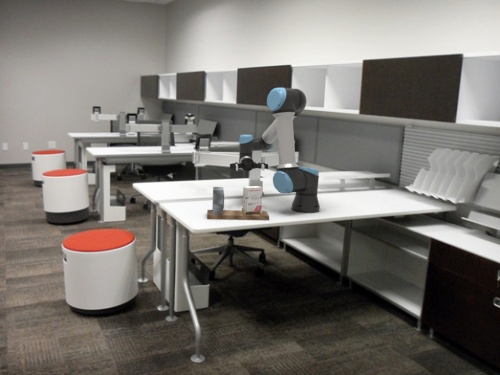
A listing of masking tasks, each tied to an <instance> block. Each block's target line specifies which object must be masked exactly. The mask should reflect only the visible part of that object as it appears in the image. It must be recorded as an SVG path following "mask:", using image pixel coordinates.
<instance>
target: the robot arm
mask: <svg viewBox="0 0 500 375" xmlns="http://www.w3.org/2000/svg"><path fill="white" fill-rule="evenodd" d="M266 99H267V100H266V106H267V107H268V110H270V111H271V112H272V116H273V117H274V118H275V119H274V120H273V122H272V123H271V124H270V125H269V126H268V127H267V129H266V130H265V131H264V132H263V134H262V135H261V136H260V137H253V135H252V134H240V135H239V140H238V143H239V156H238V162H237V161H236V162H233V163H229V169H230V170H233V171H236V172H237V171H239V169H240V170H241V169H242V170H243V171H245V172H250V171H252V170H256V169H260V170H261V171H263V172H264V171H265V169H266V170H269V163H265V162H263V163H262V162H256V161H255V160H253V153H254V152H262V151H263V152H265V151H270V150H272V149H273V148H274V142H275V140H277V151H278V152H277V154H278V165H277V167H276V172H274V174H273V176H272V183H273V186H274V188H275V190H276V191H277V192H278V193H281V194H292V193H295V195H294V197H293V200H292V203H291V211H295V212H299V213H319V212H320V209H321V208H320V203H319V199H318V198H319V197H318V191H319V178H320V176H319V174H320V173H319V170H318V169H317V168H314V167H307V166H299V165H298V164H297V161H296V151H295V150H296V148H295V147H296V146H295V134H294V133H295V132H294V121H293V120H294V119H295V118H297V117H299V116H300V115H301V114H302V113H303V112H304V111H305V109H306V105H307V96H306V94H305V93H304V91H303V90H301V89H300V88H290V87H275V88H273V89H271V91H269V93H268V95H267V98H266Z"/></svg>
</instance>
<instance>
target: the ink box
mask: <svg viewBox="0 0 500 375" xmlns="http://www.w3.org/2000/svg"><path fill="white" fill-rule="evenodd" d="M262 201H263V187H262V186H259V185H254V186H243V188H242V207H241V210H244V211H247V212H249V211H259V210H261V211H262V206H263V205H262Z"/></svg>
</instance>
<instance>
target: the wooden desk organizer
mask: <svg viewBox="0 0 500 375" xmlns="http://www.w3.org/2000/svg"><path fill="white" fill-rule="evenodd" d="M206 213H207V214H206V216H207V218H206V219H207V220H237V221H238V220H239V221H240V220H242V221H245V220H247V221H249V220H252V221H270V215H269V213H268V211H267V210H262V209H261V210H259V211H249V212H247V211H244V210H242V209H237V210H235V209H233V210H232V209H225V190H224V187H223V186H212V209H207V212H206Z"/></svg>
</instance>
